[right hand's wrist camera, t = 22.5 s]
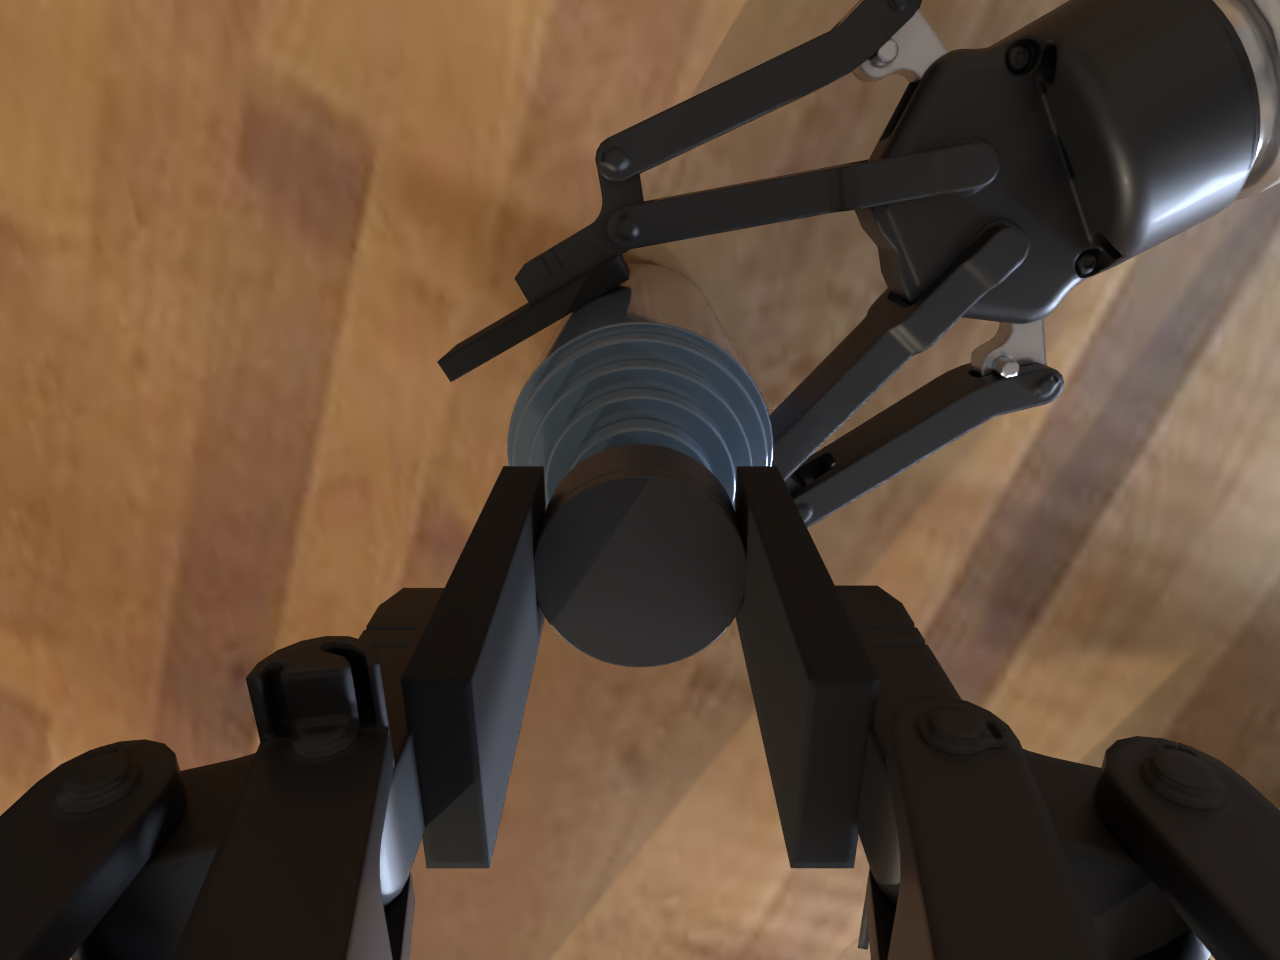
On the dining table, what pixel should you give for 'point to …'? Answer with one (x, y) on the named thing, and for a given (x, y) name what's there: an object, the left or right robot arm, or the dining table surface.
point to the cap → (640, 557)
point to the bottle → (641, 384)
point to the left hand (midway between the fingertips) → (514, 452)
